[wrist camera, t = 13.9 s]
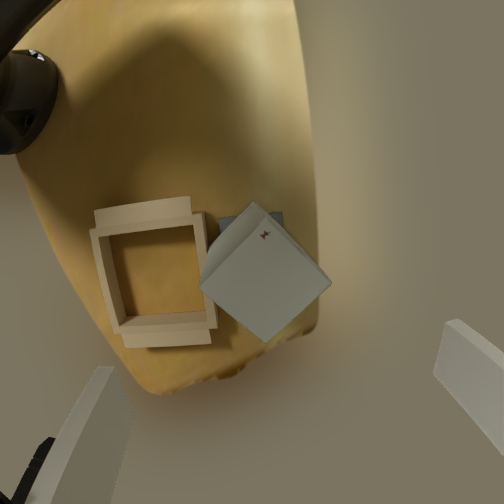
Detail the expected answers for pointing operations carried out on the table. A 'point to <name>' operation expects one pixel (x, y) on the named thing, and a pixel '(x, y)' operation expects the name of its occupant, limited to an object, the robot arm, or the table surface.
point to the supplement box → (260, 274)
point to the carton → (130, 327)
